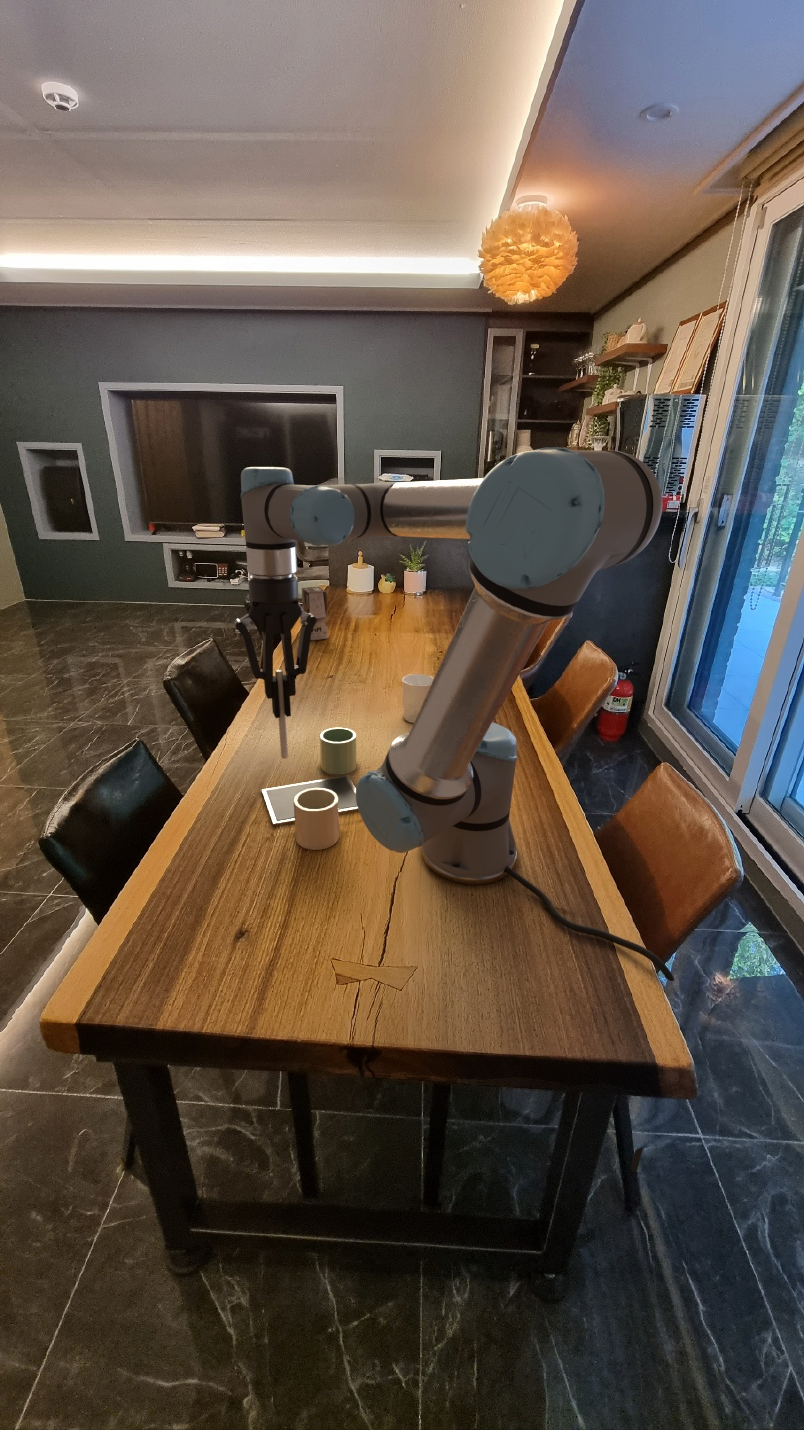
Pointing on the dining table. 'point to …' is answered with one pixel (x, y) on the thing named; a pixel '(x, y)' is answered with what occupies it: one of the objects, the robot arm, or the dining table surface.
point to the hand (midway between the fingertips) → (281, 713)
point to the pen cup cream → (316, 818)
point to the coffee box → (316, 610)
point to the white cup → (414, 694)
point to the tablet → (283, 797)
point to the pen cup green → (338, 751)
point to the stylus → (282, 715)
